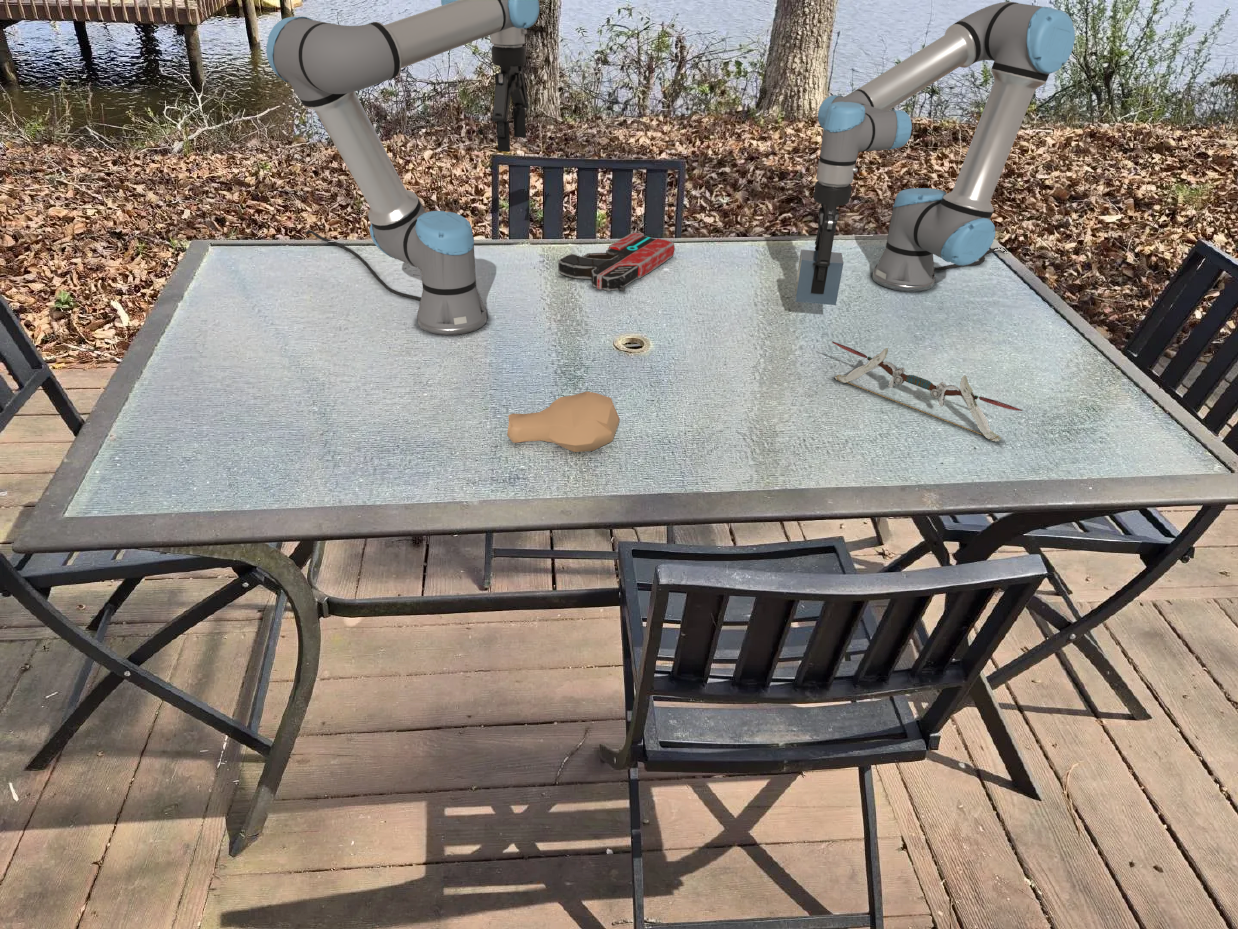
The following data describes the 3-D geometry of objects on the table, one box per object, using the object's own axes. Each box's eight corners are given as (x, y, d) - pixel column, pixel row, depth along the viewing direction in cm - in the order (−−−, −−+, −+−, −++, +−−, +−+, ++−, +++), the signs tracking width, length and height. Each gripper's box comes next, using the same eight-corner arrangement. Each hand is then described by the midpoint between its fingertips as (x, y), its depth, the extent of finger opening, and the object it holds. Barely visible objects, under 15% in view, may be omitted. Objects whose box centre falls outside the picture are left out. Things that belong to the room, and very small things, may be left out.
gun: (551, 260, 217) (618, 279, 209) (616, 225, 239) (679, 240, 231) (552, 278, 220) (618, 297, 212) (615, 241, 242) (677, 256, 234)
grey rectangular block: (835, 305, 194) (843, 263, 189) (795, 301, 195) (801, 259, 190) (834, 293, 199) (841, 252, 194) (794, 290, 200) (801, 249, 195)
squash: (622, 459, 152) (616, 419, 146) (509, 467, 154) (498, 429, 148) (622, 418, 160) (617, 379, 154) (514, 426, 162) (505, 388, 155)
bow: (1013, 444, 159) (1029, 396, 153) (1009, 448, 158) (1025, 400, 152) (828, 373, 180) (836, 328, 175) (824, 376, 179) (831, 331, 174)
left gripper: (508, 54, 184) (513, 158, 196) (538, 37, 205) (540, 132, 216) (474, 52, 185) (480, 156, 197) (507, 36, 206) (511, 130, 217)
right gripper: (855, 197, 174) (836, 305, 187) (849, 171, 191) (831, 272, 203) (817, 194, 175) (800, 302, 188) (814, 168, 191) (799, 269, 204)
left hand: (512, 143), depth 207 cm, fingers open, 13 cm apart
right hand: (816, 286), depth 196 cm, fingers closed on grey rectangular block, 7 cm apart
